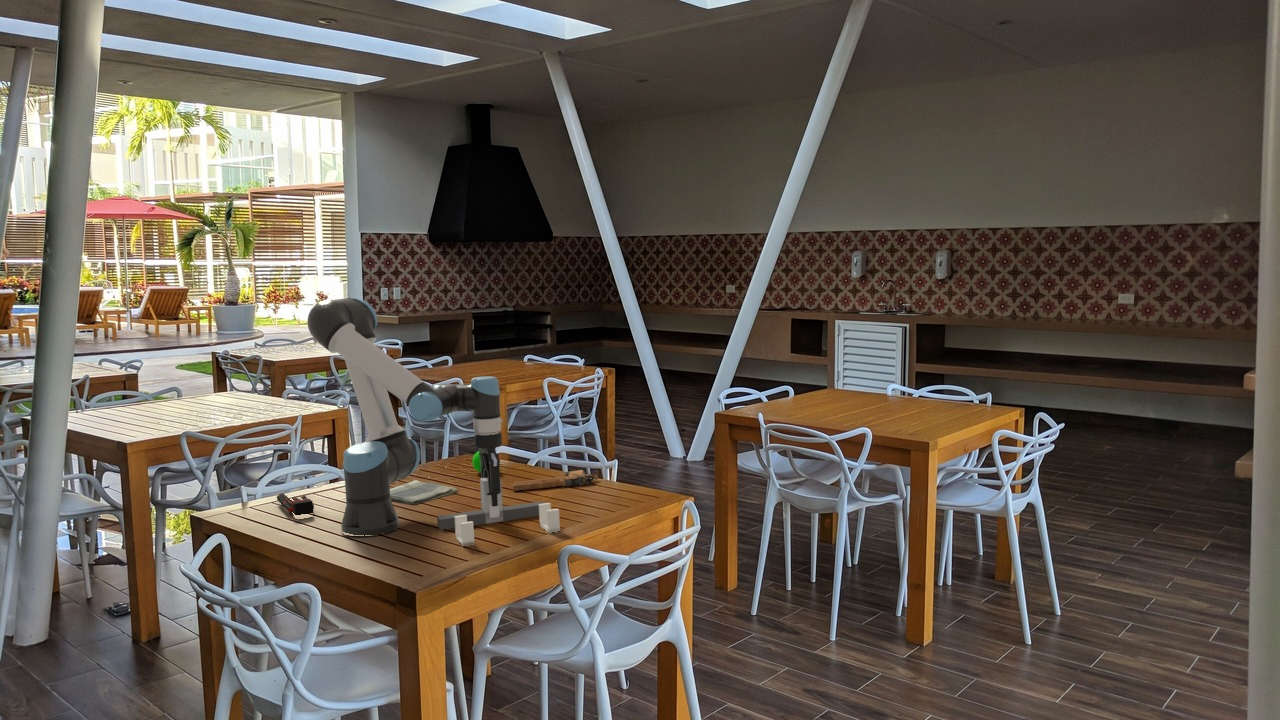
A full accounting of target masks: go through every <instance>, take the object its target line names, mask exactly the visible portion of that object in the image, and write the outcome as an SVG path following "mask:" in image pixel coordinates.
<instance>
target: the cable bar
mask: <svg viewBox="0 0 1280 720" xmlns="http://www.w3.org/2000/svg"><path fill="white" fill-rule="evenodd" d="M479 485H480V502H481V503H480V504H481V505H480V506H481V509H479V510H471V511H465V512H457V513H449V514H443V515H437V516H436V518H437V519H436V520H437V521H436V522H437V528H438V527H439V528H438V529H439V531H445V530H444V529H447V530H452V529H451V528H454V529H455V517H454V516H460V515H467V522H470V521H473V526H480V525H487V524H493V523H499V522H506V521H507V522H508V521H512V520H515V521H516V520H521V519H526V518H525V517H528V518H533V517H532V516H535V517H539V504H543V503H544V502H543V501H534V502H529V503H528V502H527V503H521V504H520V503H519V504H514V505H512V504H511V505H505V506H503V490H502V489H503V487H502V478H501V477H500V489H501V493H499V511H500V517H494V518H490V516H489V498H488V496H487V493H489V485H488V477H487V478H479ZM520 518H521V519H520Z"/></svg>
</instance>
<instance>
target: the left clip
mask: <svg viewBox="0 0 1280 720" xmlns="http://www.w3.org/2000/svg"><path fill="white" fill-rule="evenodd" d="M454 517H455V528H454V530H455V531H454V532H455V540H456V541H457V540H458V541H459V542H460V543H461V544H462V545H461V544H460V543H459V542H458V541H457V542H458V543H459V544H460V545H461V546H462V547H463V546H466V545H472V546H475V531H474V526H475V525H474V526H473V521H470V522H467V515H460V516H454ZM466 547H467V546H466Z"/></svg>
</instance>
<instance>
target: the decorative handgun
mask: <svg viewBox="0 0 1280 720" xmlns="http://www.w3.org/2000/svg"><path fill="white" fill-rule="evenodd" d="M569 473H571V474H569ZM572 474H577V475H581V476H577V475H572ZM583 476H585V477H583ZM590 478H592V479H590ZM593 479H596V480H598V479H599V475H598V474H595V473H594V474H591V473H586V472H585V470H584V469H578V470H577V469H576V470H570V471H569V470H568V471H566V472H565V475H564V476H558V477H548V478H540V479H539V478H538V479H530V480H522V481H515V482H513V483H512V490H513V492H519V491H520V490H521V491H528V490H529V489H530V490H537V489H538V490H539V489H546V488H547V489H548V488H556V487H555V486H562V487H572V485H574V486H577V485H579V486H581V485H580V484H589V485H590V484H591V483H592V482H591V481H595V480H593ZM521 491H520V492H521Z"/></svg>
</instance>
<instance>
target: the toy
mask: <svg viewBox="0 0 1280 720" xmlns="http://www.w3.org/2000/svg"><path fill="white" fill-rule="evenodd" d="M287 496H288V495H286V494H285V493H283V492H280V493H278V494H277V495H276V500H277V502H279V504H280V503H281V504H280V505H281V506H282V507H283V509H284V510H286V511H287V513H292V512H293V513H294V514H295V515H301V514H309V513H314V509H315V504H313V501H314V500H311V499H310V498H308V497H307V496H306V495H305V494H304V495H300V499H299V498H297V497H296V496H294V497H293V498H292V499H293V500H294V501H292V500H290V499H289V498H288V497H287ZM301 498H302V499H303V500H301Z"/></svg>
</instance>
